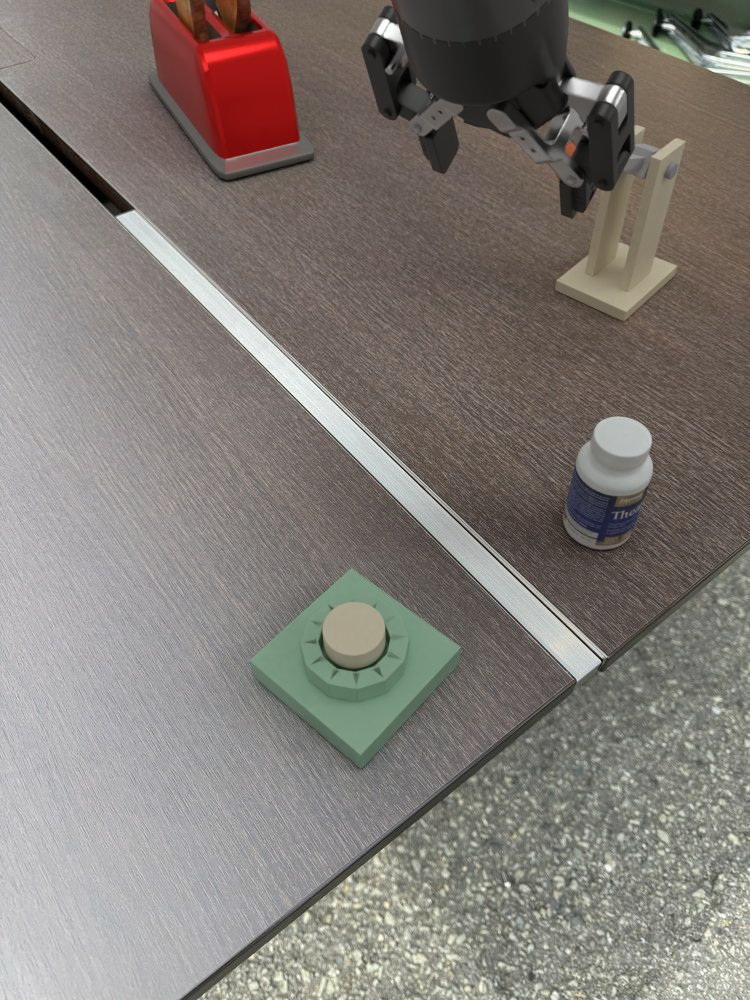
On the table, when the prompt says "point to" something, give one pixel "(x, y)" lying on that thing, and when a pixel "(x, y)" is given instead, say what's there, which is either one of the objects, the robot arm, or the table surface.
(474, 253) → the table surface
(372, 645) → the button
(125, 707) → the table surface
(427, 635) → the button block
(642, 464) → the pill bottle
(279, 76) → the toaster
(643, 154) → the lever
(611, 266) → the bracket
